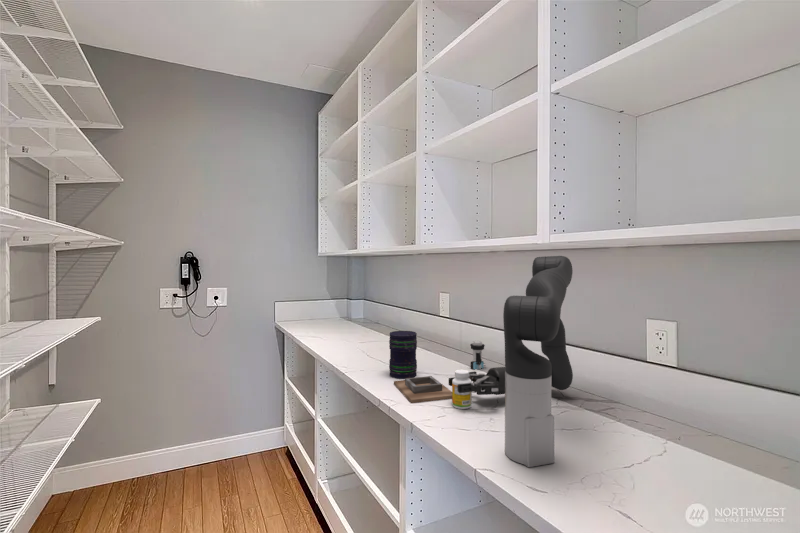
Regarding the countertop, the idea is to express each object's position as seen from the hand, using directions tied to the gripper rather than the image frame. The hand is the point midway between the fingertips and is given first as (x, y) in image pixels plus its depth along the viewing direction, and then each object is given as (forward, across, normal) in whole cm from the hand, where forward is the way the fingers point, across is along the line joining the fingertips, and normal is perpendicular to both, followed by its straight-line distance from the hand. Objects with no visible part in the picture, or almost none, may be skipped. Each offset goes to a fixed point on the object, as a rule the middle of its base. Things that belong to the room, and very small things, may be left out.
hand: (453, 385), depth 108 cm
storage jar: (+4, -33, +6) cm, 34 cm away
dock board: (+3, -15, +6) cm, 17 cm away
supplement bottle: (-3, 0, +6) cm, 7 cm away
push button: (-26, -33, +6) cm, 42 cm away
